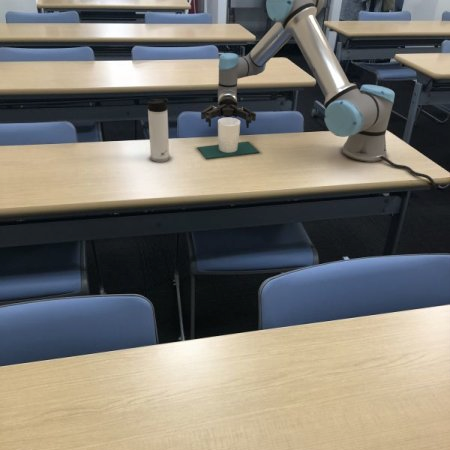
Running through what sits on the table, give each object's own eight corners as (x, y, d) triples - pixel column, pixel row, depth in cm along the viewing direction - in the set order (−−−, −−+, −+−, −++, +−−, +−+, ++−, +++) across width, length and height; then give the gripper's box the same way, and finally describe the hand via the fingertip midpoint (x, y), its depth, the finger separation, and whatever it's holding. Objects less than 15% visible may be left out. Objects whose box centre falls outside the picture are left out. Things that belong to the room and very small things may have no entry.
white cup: (236, 154, 171) (238, 126, 164) (215, 152, 172) (215, 124, 165) (240, 146, 177) (242, 118, 170) (219, 143, 178) (220, 116, 171)
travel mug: (167, 163, 164) (165, 102, 152) (148, 161, 165) (144, 100, 152) (172, 155, 169) (170, 96, 157) (153, 154, 170) (150, 94, 157)
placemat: (259, 153, 174) (259, 151, 174) (206, 159, 168) (206, 158, 168) (248, 142, 181) (248, 141, 181) (197, 148, 175) (197, 147, 175)
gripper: (258, 115, 192) (262, 135, 176) (195, 113, 191) (194, 133, 175) (260, 95, 187) (264, 114, 171) (195, 93, 186) (193, 111, 170)
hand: (228, 123), depth 173 cm, fingers open, 13 cm apart
